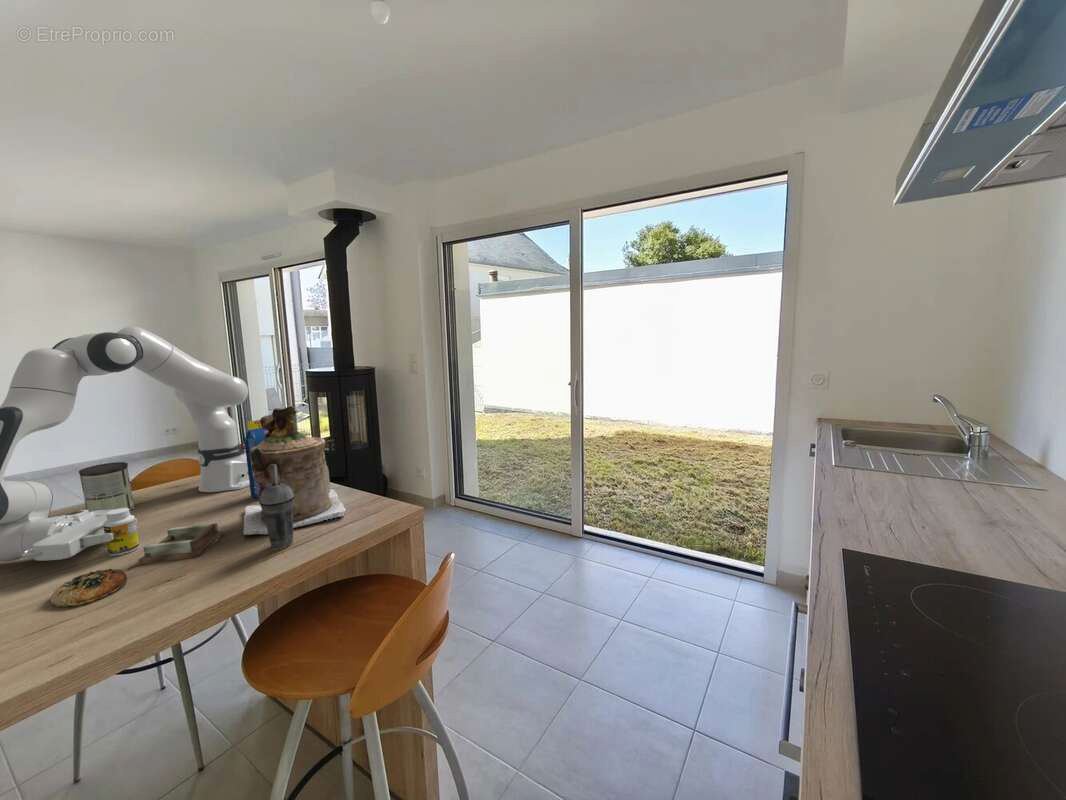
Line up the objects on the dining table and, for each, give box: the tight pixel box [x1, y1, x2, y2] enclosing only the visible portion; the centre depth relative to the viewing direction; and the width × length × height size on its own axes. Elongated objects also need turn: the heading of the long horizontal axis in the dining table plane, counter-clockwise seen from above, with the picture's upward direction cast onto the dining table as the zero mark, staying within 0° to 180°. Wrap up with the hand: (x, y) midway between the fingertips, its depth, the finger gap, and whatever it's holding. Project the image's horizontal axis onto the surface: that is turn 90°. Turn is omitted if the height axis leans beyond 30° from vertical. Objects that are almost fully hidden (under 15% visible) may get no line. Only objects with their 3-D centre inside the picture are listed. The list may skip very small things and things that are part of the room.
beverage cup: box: [259, 464, 295, 550], centre depth 103 cm, size 7×7×20 cm
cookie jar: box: [243, 405, 346, 537], centre depth 122 cm, size 25×25×32 cm
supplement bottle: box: [103, 508, 140, 557], centre depth 103 cm, size 6×6×10 cm
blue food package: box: [244, 419, 268, 500], centre depth 141 cm, size 6×12×25 cm, turn 152°
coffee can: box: [78, 461, 135, 512], centre depth 128 cm, size 10×10×14 cm
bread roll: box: [50, 567, 128, 608], centre depth 86 cm, size 11×11×5 cm
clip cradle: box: [138, 522, 225, 564], centre depth 104 cm, size 12×12×4 cm
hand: (125, 529), depth 103 cm, fingers open, 6 cm apart
